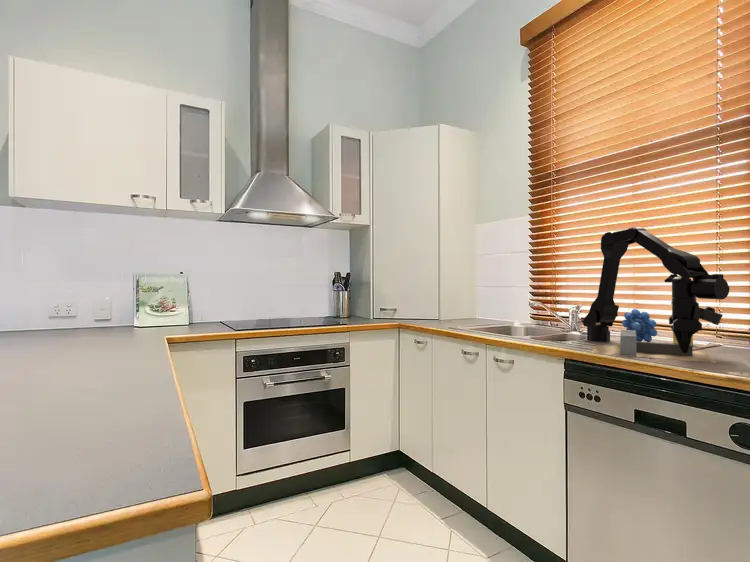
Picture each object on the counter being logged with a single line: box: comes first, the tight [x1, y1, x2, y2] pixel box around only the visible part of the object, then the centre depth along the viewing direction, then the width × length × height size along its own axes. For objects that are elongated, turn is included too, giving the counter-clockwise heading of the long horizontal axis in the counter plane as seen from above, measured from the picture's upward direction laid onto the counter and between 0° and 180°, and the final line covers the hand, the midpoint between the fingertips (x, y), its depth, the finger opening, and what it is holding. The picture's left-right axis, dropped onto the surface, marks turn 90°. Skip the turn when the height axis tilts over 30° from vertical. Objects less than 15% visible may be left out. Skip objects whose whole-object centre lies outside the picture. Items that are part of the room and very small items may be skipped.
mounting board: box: [591, 344, 717, 364], centre depth 127 cm, size 30×18×1 cm, turn 59°
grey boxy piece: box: [619, 329, 636, 357], centre depth 130 cm, size 4×16×6 cm, turn 149°
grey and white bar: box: [616, 341, 694, 356], centre depth 126 cm, size 19×4×3 cm, turn 59°
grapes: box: [621, 308, 658, 342], centre depth 155 cm, size 12×7×12 cm, turn 38°
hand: (684, 352), depth 122 cm, fingers closed on grey and white bar, 2 cm apart
